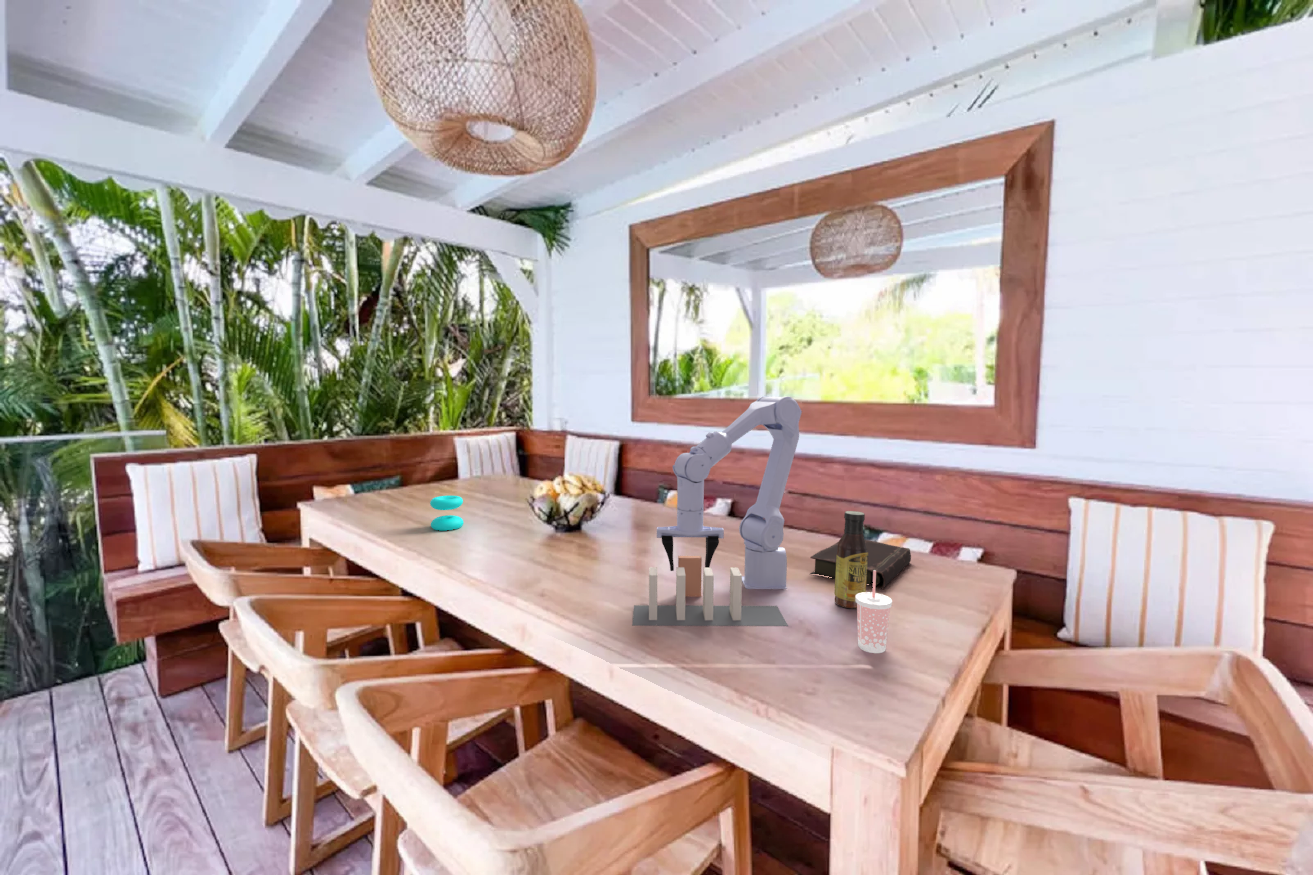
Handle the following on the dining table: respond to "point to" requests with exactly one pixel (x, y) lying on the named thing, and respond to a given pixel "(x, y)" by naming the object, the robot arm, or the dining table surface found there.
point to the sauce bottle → (851, 561)
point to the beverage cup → (872, 619)
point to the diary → (879, 558)
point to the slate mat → (720, 618)
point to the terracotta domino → (691, 574)
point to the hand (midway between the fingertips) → (689, 569)
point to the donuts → (449, 520)
